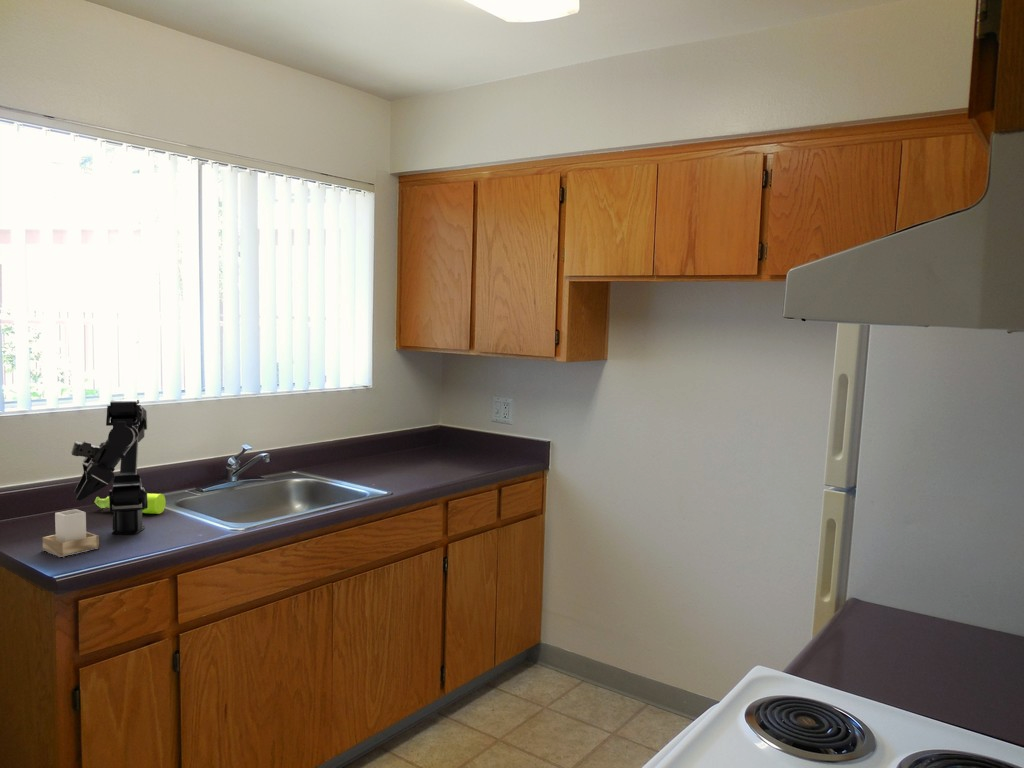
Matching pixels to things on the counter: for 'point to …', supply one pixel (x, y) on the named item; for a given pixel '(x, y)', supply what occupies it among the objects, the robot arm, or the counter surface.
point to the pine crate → (70, 544)
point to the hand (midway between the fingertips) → (76, 496)
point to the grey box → (70, 525)
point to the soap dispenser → (154, 503)
